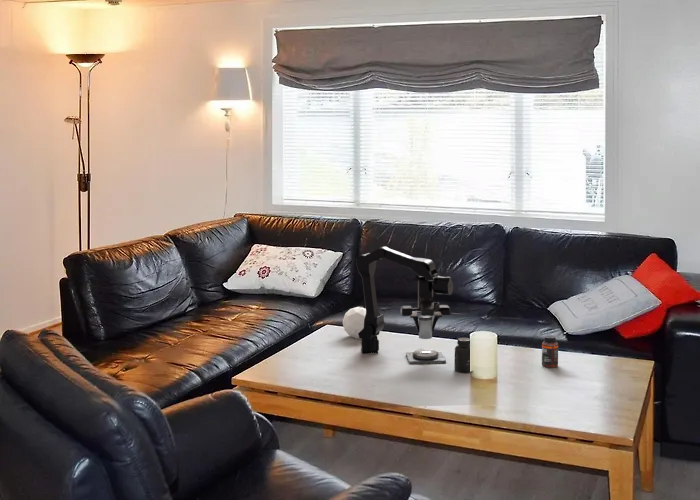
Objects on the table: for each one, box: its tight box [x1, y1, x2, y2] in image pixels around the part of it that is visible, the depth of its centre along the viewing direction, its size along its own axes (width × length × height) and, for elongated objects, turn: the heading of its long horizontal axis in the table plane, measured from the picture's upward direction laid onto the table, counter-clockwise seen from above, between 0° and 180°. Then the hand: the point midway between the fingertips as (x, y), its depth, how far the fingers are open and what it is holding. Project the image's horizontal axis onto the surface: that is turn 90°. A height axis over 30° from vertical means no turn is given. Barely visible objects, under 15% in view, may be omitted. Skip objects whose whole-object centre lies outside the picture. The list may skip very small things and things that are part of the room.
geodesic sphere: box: [342, 305, 366, 340], centre depth 350 cm, size 14×14×14 cm
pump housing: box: [418, 315, 433, 340], centre depth 316 cm, size 5×5×8 cm
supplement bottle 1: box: [453, 337, 471, 374], centre depth 302 cm, size 7×7×12 cm
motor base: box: [405, 347, 447, 365], centre depth 318 cm, size 14×12×3 cm
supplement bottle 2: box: [541, 334, 559, 369], centre depth 306 cm, size 6×6×11 cm
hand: (425, 332), depth 316 cm, fingers closed on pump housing, 5 cm apart
